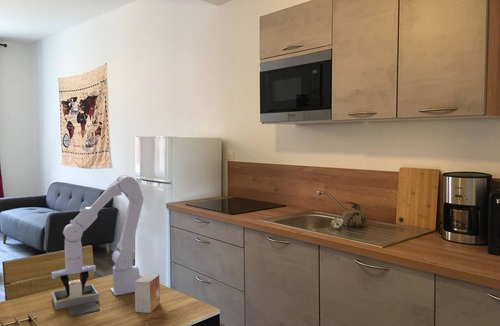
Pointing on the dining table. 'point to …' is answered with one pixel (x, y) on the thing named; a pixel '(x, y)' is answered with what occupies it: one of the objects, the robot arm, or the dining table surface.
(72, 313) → the mat
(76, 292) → the block
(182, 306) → the dining table surface
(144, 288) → the small box
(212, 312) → the dining table surface
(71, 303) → the grey rectangular frame
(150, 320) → the dining table surface
